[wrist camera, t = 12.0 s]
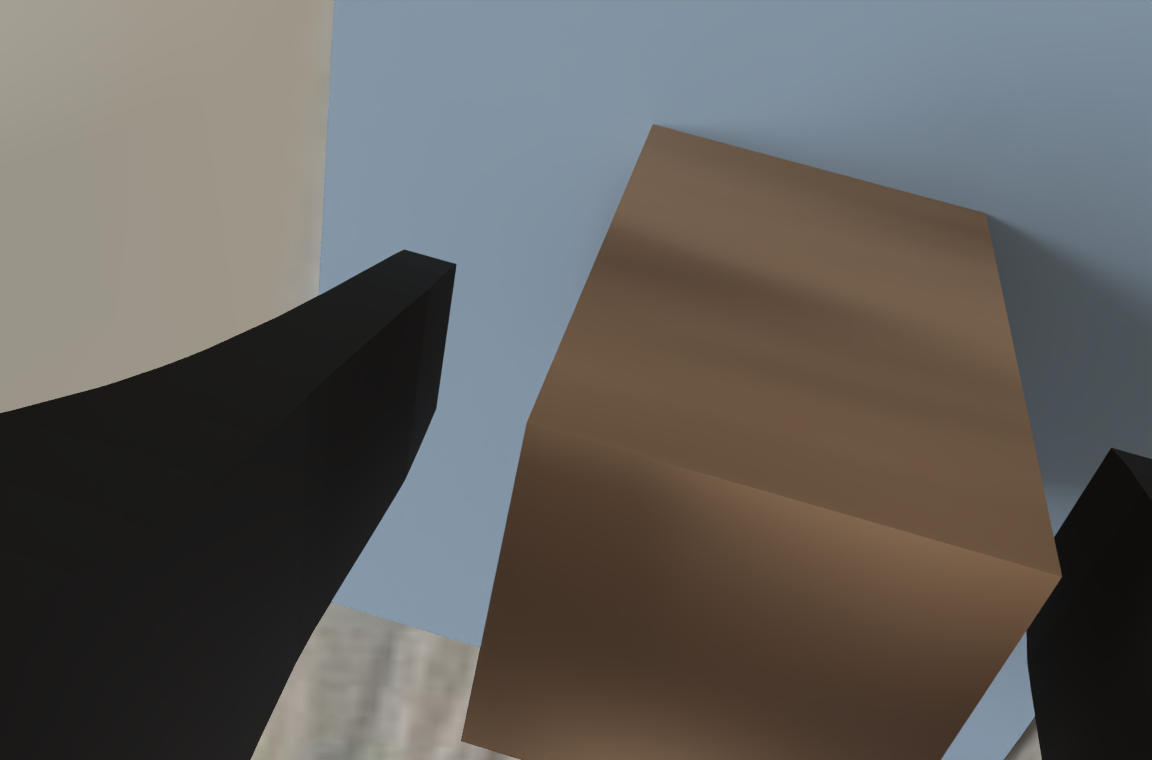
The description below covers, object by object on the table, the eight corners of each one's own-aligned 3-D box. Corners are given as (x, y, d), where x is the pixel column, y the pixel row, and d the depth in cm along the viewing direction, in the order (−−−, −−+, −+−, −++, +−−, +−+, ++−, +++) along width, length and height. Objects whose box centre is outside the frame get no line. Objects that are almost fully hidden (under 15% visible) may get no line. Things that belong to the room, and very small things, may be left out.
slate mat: (973, 768, 19) (976, 797, 18) (316, 569, 20) (302, 593, 19) (1724, -307, 9) (1771, -302, 9) (391, -610, 10) (367, -621, 10)
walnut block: (867, 467, 15) (869, 867, 10) (588, 388, 15) (460, 740, 10) (986, 213, 13) (1061, 575, 8) (652, 124, 13) (525, 422, 8)
